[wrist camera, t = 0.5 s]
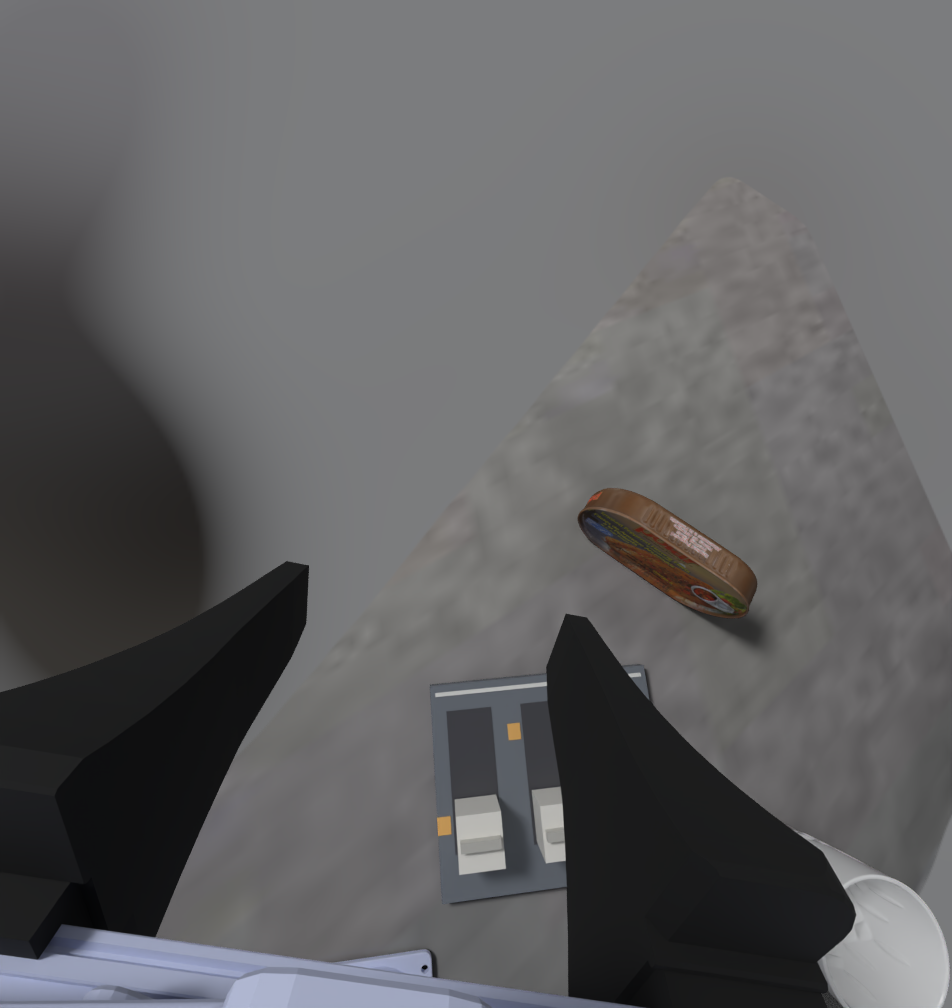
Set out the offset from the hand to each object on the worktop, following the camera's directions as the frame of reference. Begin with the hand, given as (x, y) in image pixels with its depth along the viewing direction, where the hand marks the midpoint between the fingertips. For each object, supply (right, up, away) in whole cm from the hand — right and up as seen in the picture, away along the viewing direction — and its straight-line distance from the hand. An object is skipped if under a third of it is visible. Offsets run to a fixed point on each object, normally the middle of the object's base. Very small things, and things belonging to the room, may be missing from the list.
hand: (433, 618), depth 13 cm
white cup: (+25, -26, +24) cm, 43 cm away
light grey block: (+1, -21, +22) cm, 30 cm away
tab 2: (+7, -21, +23) cm, 31 cm away
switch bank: (+7, -18, +24) cm, 31 cm away
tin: (+16, -2, +29) cm, 34 cm away
